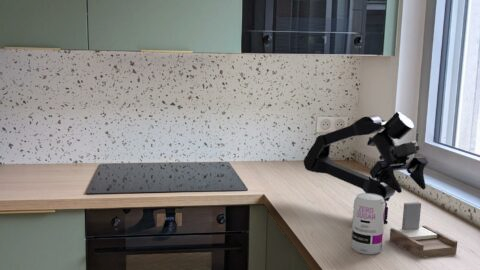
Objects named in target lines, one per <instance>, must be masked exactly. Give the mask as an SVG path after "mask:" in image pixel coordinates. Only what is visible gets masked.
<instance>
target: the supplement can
mask: <svg viewBox="0 0 480 270" xmlns="http://www.w3.org/2000/svg"><path fill="white" fill-rule="evenodd" d="M384 215H385V201H384V199H383V197H382V196H380V195H377V194H371V193H365V192H362V193H358V194H357V195H356V196H355V198H354V200H353V210H352V224H351V225H352V226H351V238H350V239H351V240H350V247H351V248H352V249H353V251H355V252H356V253H358V254H363V255H368V256H369V255H377V254H379V253H380V252H381V251H382V249H383V238H384V237H383V236H384V227H385V225H384V224H385V223H384Z"/></svg>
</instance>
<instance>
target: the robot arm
mask: <svg viewBox="0 0 480 270" xmlns="http://www.w3.org/2000/svg"><path fill="white" fill-rule="evenodd" d="M414 128H415V125H414V122H413V121H412V120H411V118H408V116H406V115H404V114H402V112H401V111H395V112H394V114H393V116H392V117H390V119H388V120H384V119H381V118H380V117H379V116H378V115H369V116H368V115H367V116H363V117H361V118H358V120H357V119H356V120H355V121H354V122H353V123H352V124H350V125H348V126H344V127H342V128H339V129H337V130H334V131H331V132H328V133H324V134H320V135H318V136H317V137H316V139H315V141H314V143H313V144H312V146H311V147H310V149H308V152H307V155H305V156H304V158H303V166H304V168H305V170H306V171H309V172H312V173H316V174H319V173H320V174H327V175H329V176H332V177H333V178H336V179H339V180H341V181H342V182H345V183H347V184H350V185H352V186H355V187H356V188H360V189H362V190H363V193H371V194H377V195H380V196H382V197H383V199H384V201H385V215H384V224H388V223H389V221H388V215H389V214H388V213H389V207H388V203H387V202H389V200H390V199H391V197H393V196H394V195H395V192H397V193H398V194H400V193H402V192H403V190H402V188H401V186H400V183H399V182H398V180H397V178H396V176H395V174H394V171H396V172H397V171H404V170H406V171H407V173H408V174H409V175H408V176H409V177H410V179H412V180H413V182H414V183H416V185H418V187H419V188H420V189H422V190H423V191H424V190H425V189H426V188H427V186H426V182H425V181H426V180H425V177H424V170H425V168H427V167H426V166H427V165H428V164H429V161H428V159H427V157H425V156H415V157H412V159H411V157H410V156H412V155H414V154H415V155H416V154H417V153H418V151H420V145H419V143H418V142H417V141H416V140H411V141H409V142H405V143H404V142H403V143H401V144H399V145H397V143H396V141H395V140H401V139H403V138H404V137H405V136H406V135H407V134H408V133H409V132H410V131H412V130H413V129H414ZM373 134H374V135H373ZM368 135H373V136H372V137H371V136H369V137H368V140H367V143H366V145H367V146H371V147H376V150H377V151H378V153H379V154H380V155H379V157H378V158H379V160H376V161H375V163H374V164H373V166H372V167H371V168H370V169H369V176H368V175H365V174H363V173H361V172H359V171H355V170H353V169H351V168H348V167H346V166H344V165H341V164H339V163H336V162H334V161H333V160H332V159H331V157H330V154H331V146H332V145H333V144H336V143H339V142H341V141H344V140H348V139H351V138H354V137H361V136H368ZM409 159H411V160H410V161H409ZM407 161H409V162H407Z"/></svg>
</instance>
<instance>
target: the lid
mask: <svg viewBox="0 0 480 270" xmlns="http://www.w3.org/2000/svg"><path fill="white" fill-rule="evenodd" d="M421 210H422V203H421V202H419V201H418V202H417V201H415V202H404V203H403V211H402V212H403V214H402V223H401V228H398V229H396V230H398V231H399V232H401V233H403V234H405V235H407V236H409V237H410V238H412V239H414V240H420V239H431V238H437V234H435V233H433V232H431V231H429V230H427V229H425V228H423V227H422V226H420V221H421Z"/></svg>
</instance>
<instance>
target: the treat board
mask: <svg viewBox="0 0 480 270" xmlns="http://www.w3.org/2000/svg"><path fill="white" fill-rule="evenodd" d="M421 227H423V228H425V229H427V230H429V231H431V232H433V233H435V234H437V238H431V239H420V240H414V239H412V238H410V237H409V236H407V235H405V234H403V233H401V232H399V231H398V230H396V229H395V228H394V227H393V228H392V227H391V228H390V230H389V231H390V232H389V241H390V242H392V243H394V244H395V245H397V246H399V247H401V248H402V249H403V250H405V251H407V252H409V253H410V254H413V255H415V256H416V257H417V258H419V259H420V258H430V257H438V256H447V255H456V254H457V251H458V250H457V249H458V241H457V240H456V239H454V238H451V237H449V236H448V235H446V234H443V233H441V232H439V231H437V230H435V229H433V228H431V227H430V226H427V225H422V226H421Z"/></svg>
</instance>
